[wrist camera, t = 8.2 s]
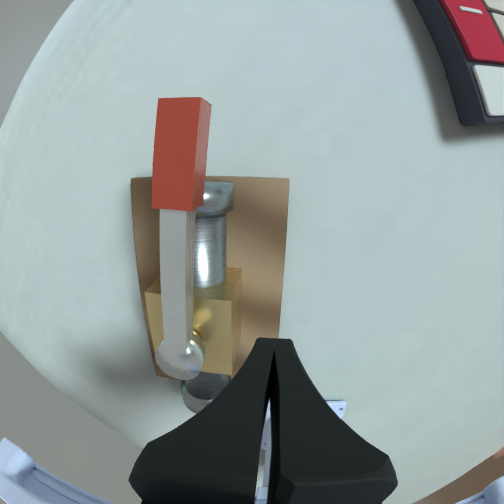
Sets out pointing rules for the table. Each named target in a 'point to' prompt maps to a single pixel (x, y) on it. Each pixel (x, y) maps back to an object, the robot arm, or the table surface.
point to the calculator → (470, 54)
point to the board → (229, 252)
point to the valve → (208, 299)
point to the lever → (179, 225)
